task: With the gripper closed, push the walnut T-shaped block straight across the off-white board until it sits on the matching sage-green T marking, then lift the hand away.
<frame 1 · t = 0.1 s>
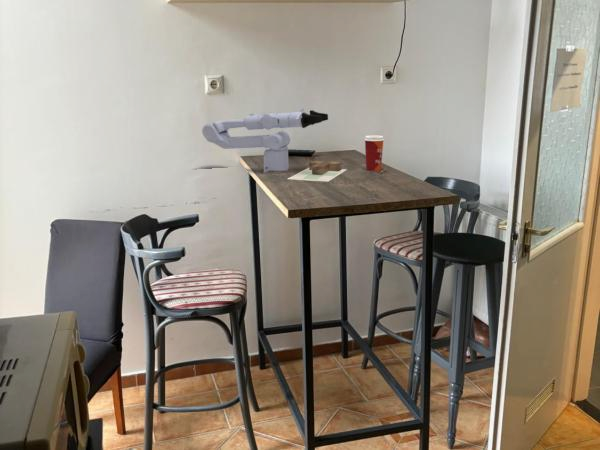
hand: (324, 118, 224), 22 cm above the table, tool horizontal, fingers open, 7 cm apart
paper cup: (373, 172, 233), on the table
t block: (323, 171, 231), point 1 cm above the table, touching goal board
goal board: (318, 176, 226), on the table
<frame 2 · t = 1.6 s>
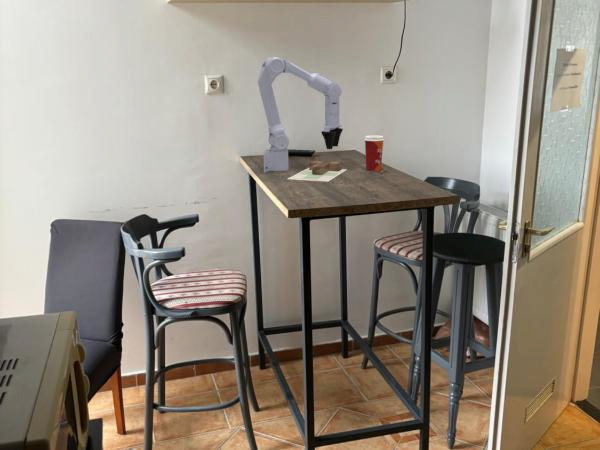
hand: (332, 147, 240), 8 cm above the table, tool pointing down, fingers open, 7 cm apart
nothing on the table moved.
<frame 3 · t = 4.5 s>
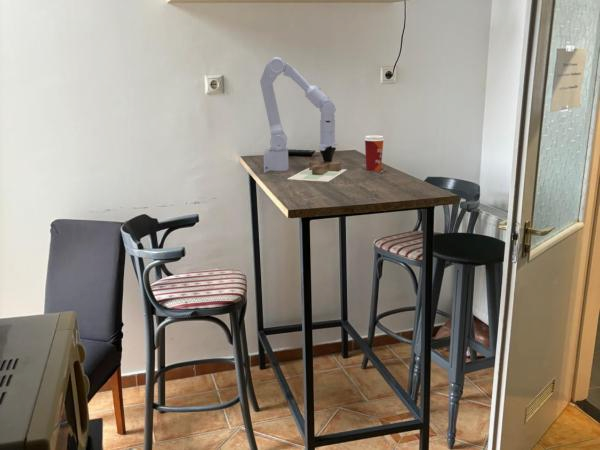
hand: (327, 165, 236), 2 cm above the table, tool pointing down, fingers closed
t block: (322, 171, 231), point 1 cm above the table, touching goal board, gripper
everything else where it was.
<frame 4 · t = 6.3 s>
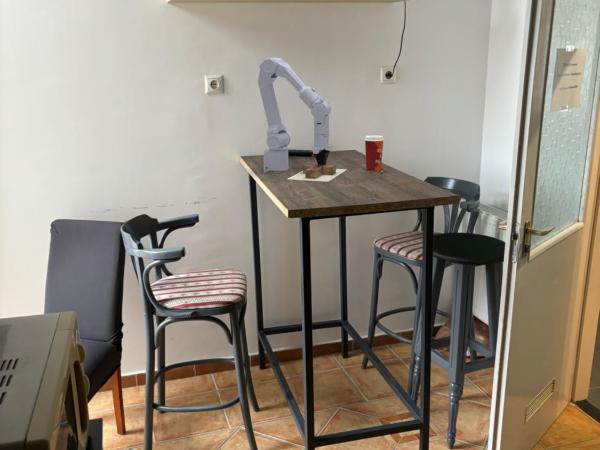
hand: (321, 169, 229), 2 cm above the table, tool pointing down, fingers closed
t block: (316, 174, 224), point 1 cm above the table, touching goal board, gripper
everything else where it was.
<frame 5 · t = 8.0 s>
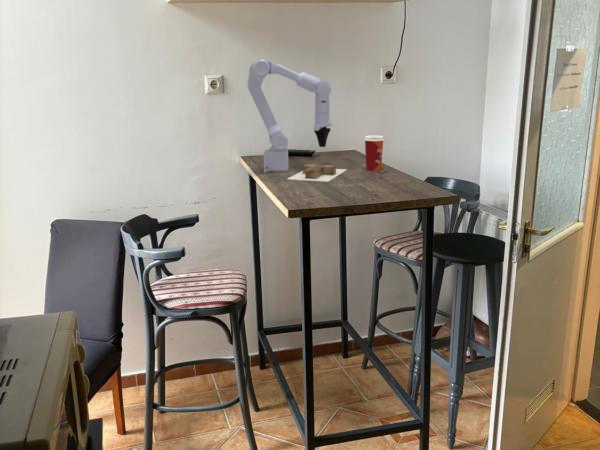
hand: (322, 146, 237), 9 cm above the table, tool pointing down, fingers closed
t block: (316, 174, 224), point 1 cm above the table, touching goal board
everything else where it was.
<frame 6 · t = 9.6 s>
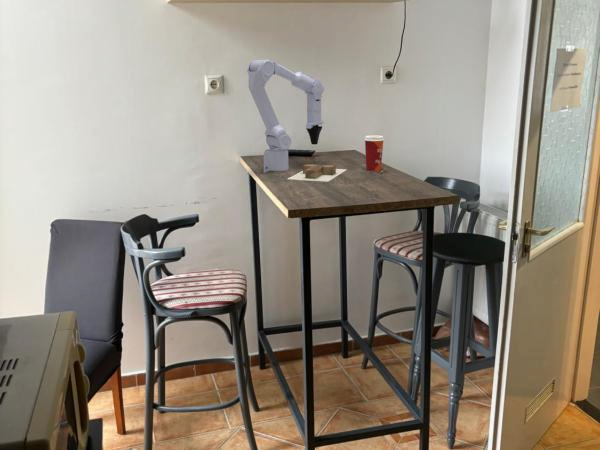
hand: (314, 144, 243), 9 cm above the table, tool pointing down, fingers closed
nothing on the table moved.
at the end: t block 0.3 cm from the target spot, point 1.0 cm above the table; t block tilted 0°; t block moved 7.7 cm from its start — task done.
